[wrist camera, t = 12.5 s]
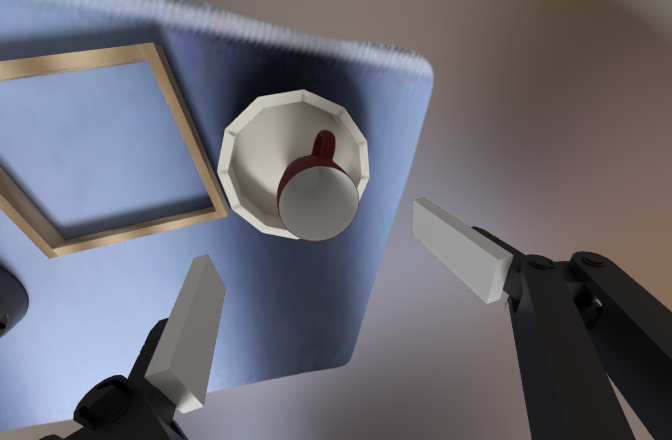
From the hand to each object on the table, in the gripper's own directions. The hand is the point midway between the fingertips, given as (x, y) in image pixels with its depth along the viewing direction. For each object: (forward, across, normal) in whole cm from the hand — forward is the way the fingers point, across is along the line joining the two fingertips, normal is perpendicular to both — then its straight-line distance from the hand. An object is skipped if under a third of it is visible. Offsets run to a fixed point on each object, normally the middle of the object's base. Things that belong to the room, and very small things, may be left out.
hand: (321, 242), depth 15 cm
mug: (+18, +2, 0) cm, 18 cm away
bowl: (+19, +1, 0) cm, 19 cm away
